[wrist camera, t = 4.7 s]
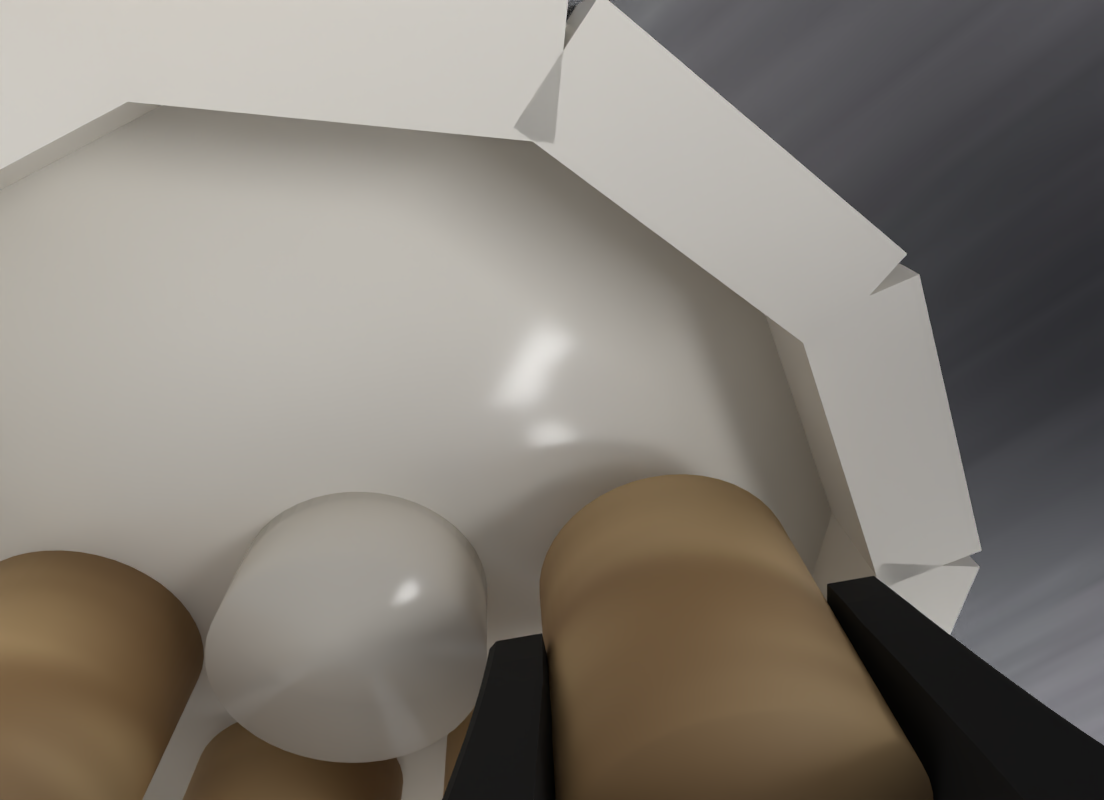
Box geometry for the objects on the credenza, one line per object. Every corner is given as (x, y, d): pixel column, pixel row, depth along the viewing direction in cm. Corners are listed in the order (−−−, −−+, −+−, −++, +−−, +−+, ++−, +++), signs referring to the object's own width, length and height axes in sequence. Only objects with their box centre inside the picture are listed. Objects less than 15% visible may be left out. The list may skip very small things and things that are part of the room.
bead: (664, 710, 12) (733, 988, 9) (486, 599, 11) (481, 871, 7) (842, 566, 11) (1006, 816, 8) (668, 424, 10) (765, 644, 6)
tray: (1105, 442, 13) (1218, 517, 11) (508, 971, 18) (510, 1083, 16) (15, -465, 7) (-169, -659, 5) (-350, 696, 13) (-502, 815, 11)
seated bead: (242, 615, 12) (138, 854, 9) (149, 752, 13) (21, 1011, 10) (4, 510, 11) (-232, 737, 7) (-75, 670, 12) (-311, 931, 9)
